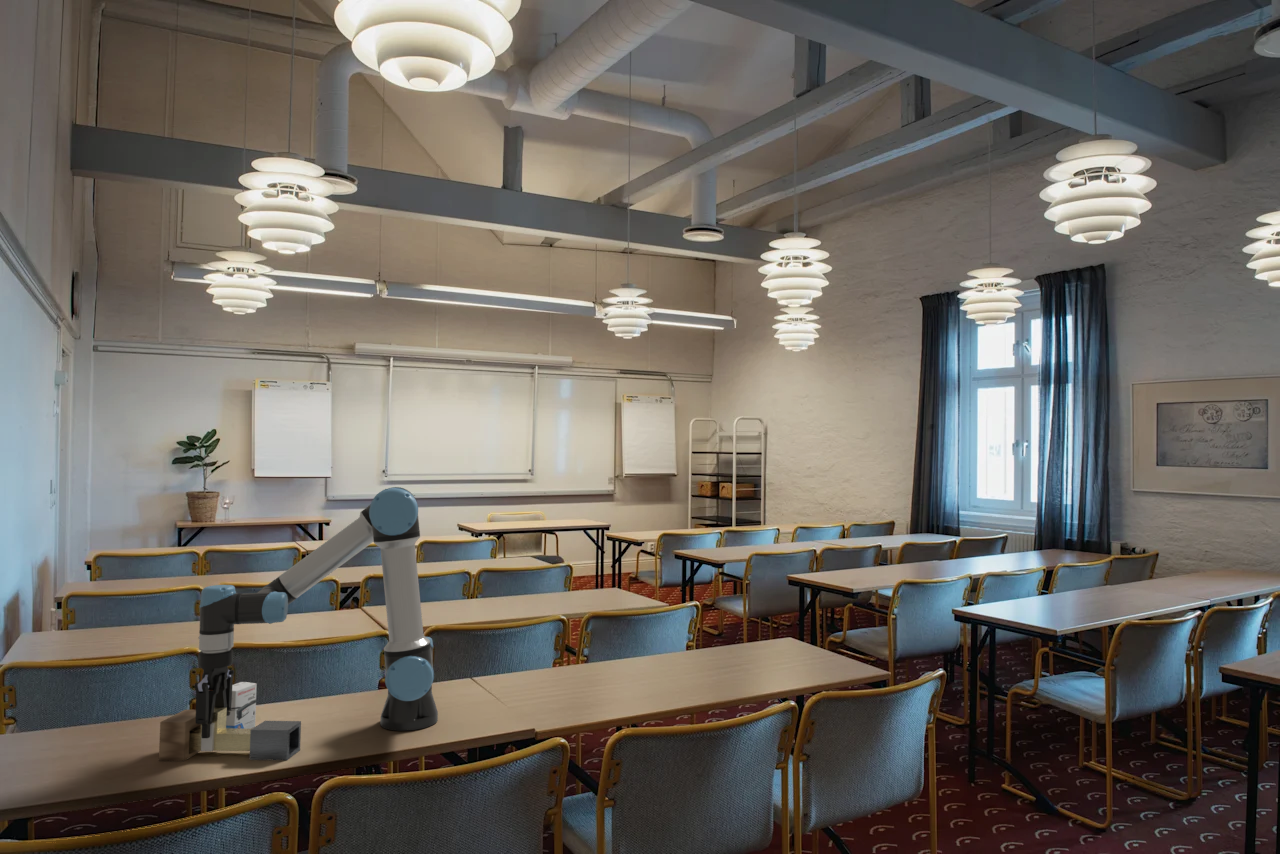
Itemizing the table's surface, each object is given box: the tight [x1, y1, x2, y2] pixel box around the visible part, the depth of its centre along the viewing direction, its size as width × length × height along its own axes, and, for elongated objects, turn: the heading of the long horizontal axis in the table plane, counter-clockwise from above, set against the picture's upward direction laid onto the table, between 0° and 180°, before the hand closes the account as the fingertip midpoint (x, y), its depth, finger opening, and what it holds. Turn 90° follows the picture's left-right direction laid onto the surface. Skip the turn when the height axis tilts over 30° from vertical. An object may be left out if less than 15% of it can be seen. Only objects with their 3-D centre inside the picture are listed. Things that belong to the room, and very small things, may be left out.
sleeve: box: [249, 720, 302, 761], centre depth 193 cm, size 9×7×7 cm
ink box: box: [226, 681, 257, 729], centre depth 210 cm, size 8×5×12 cm, turn 168°
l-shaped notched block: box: [189, 707, 252, 752], centre depth 193 cm, size 17×4×9 cm, turn 89°
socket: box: [158, 709, 202, 762], centre depth 194 cm, size 6×10×9 cm, turn 179°
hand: (212, 747), depth 193 cm, fingers closed on l-shaped notched block, 4 cm apart
